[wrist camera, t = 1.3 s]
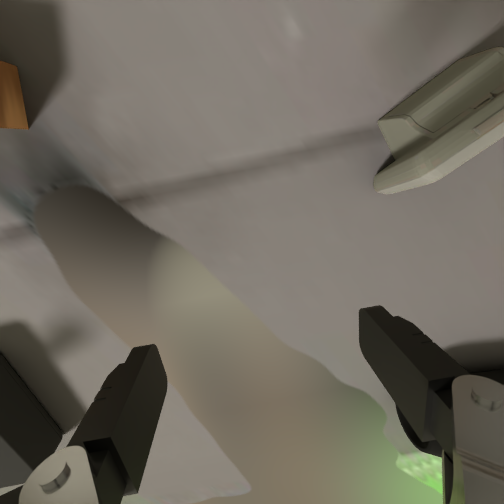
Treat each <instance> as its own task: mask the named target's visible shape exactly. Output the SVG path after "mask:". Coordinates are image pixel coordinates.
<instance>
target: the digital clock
mask: <svg viewBox="0 0 504 504" xmlns="http://www.w3.org/2000/svg"><path fill="white" fill-rule="evenodd" d="M463 119H464V120H463ZM461 121H462V122H461ZM456 124H457V125H456ZM378 125H379V128H380V130H381V132H382V134H383V136H384V138H385V140H386V142H387V144H388V146H389V149H390V151H391V153H392V155H393V157H394V159H395V161H394V162H393V163H392V164H390V165H389V166H387V167H386V168H385V169H383V170H382V171H380V172H379V173H378V174H376V175H375V177H374V182H373V186H374V189H375V191H376V192H379V193H383V194H392V193H396V192H400V191H404V190H408V189H412V188H416V187H420V186H424V185H427V184H431V183H433V182H435V181H437V180H439V179H441V178H443V177H444V176H446V175H447V174H449V173H450V172H452V171H453V170H455V169H456V168H458V167H459V166H461V165H462V164H464V163H465V162H467V161H468V160H470V159H471V158H473V157H474V156H476V155H477V154H479V153H480V152H482V151H483V150H485V149H486V148H488V147H489V146H490V145H492V144H493V143H495V142H496V141H498V140H499V139H501V138H502V137H504V47H495V48H491V49H488V50H485V51H482V52H479V53H477V54H474V55H471V56H468V57H465V58H463V59H460V60H458V61H456V62H455V63H454V64H452V65H451V66H450V67H449V68H447V69H446V70H445V71H443V72H442V73H441V74H439V75H438V76H437V77H435V78H434V79H433V80H431V81H430V82H429V83H427V84H426V85H425V86H423V87H422V88H421V89H419V90H418V91H417V92H415V93H414V94H413V95H411V96H410V97H409V98H407V99H406V100H405V101H404V102H402V103H401V104H400V105H398V106H397V107H396V108H394V109H393V110H392V111H390V112H389V113H388V114H386V115H385V116H384V117H382V118H381V119H380V120H378ZM454 125H455V127H454ZM451 127H452V129H451ZM449 129H450V130H449ZM447 131H448V132H447ZM444 132H445V134H444ZM442 134H443V135H442ZM439 136H440V137H439ZM437 137H438V138H437Z"/></svg>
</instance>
